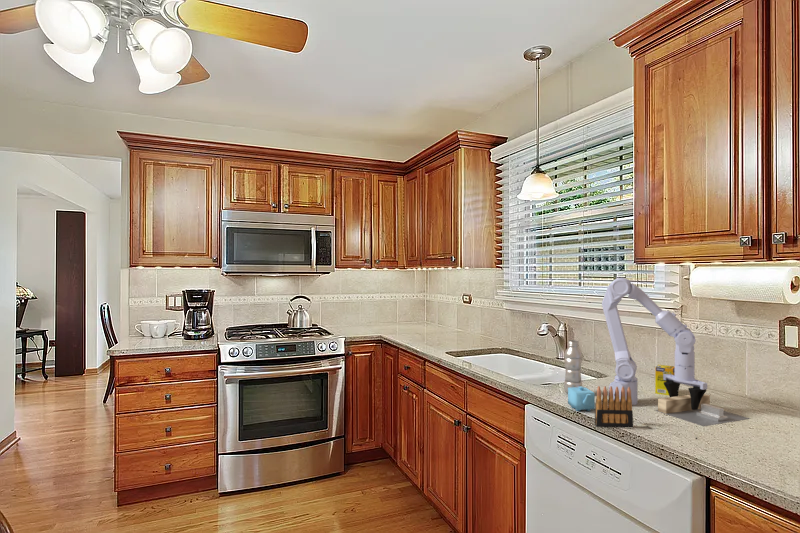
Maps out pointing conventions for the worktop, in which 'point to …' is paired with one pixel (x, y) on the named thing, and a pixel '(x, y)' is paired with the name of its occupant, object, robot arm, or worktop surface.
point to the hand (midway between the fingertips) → (684, 406)
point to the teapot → (581, 398)
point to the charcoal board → (694, 418)
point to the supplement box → (659, 378)
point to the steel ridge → (712, 412)
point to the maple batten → (679, 403)
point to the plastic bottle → (572, 365)
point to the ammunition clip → (613, 409)
